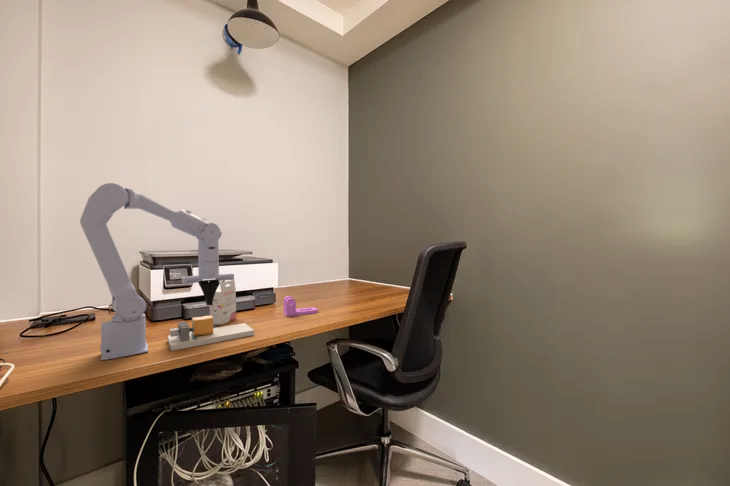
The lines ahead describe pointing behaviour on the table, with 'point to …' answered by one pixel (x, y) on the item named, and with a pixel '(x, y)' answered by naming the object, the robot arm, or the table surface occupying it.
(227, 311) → the ink cartridge box
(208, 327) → the orange block
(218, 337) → the board
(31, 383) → the table surface
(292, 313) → the bracket
